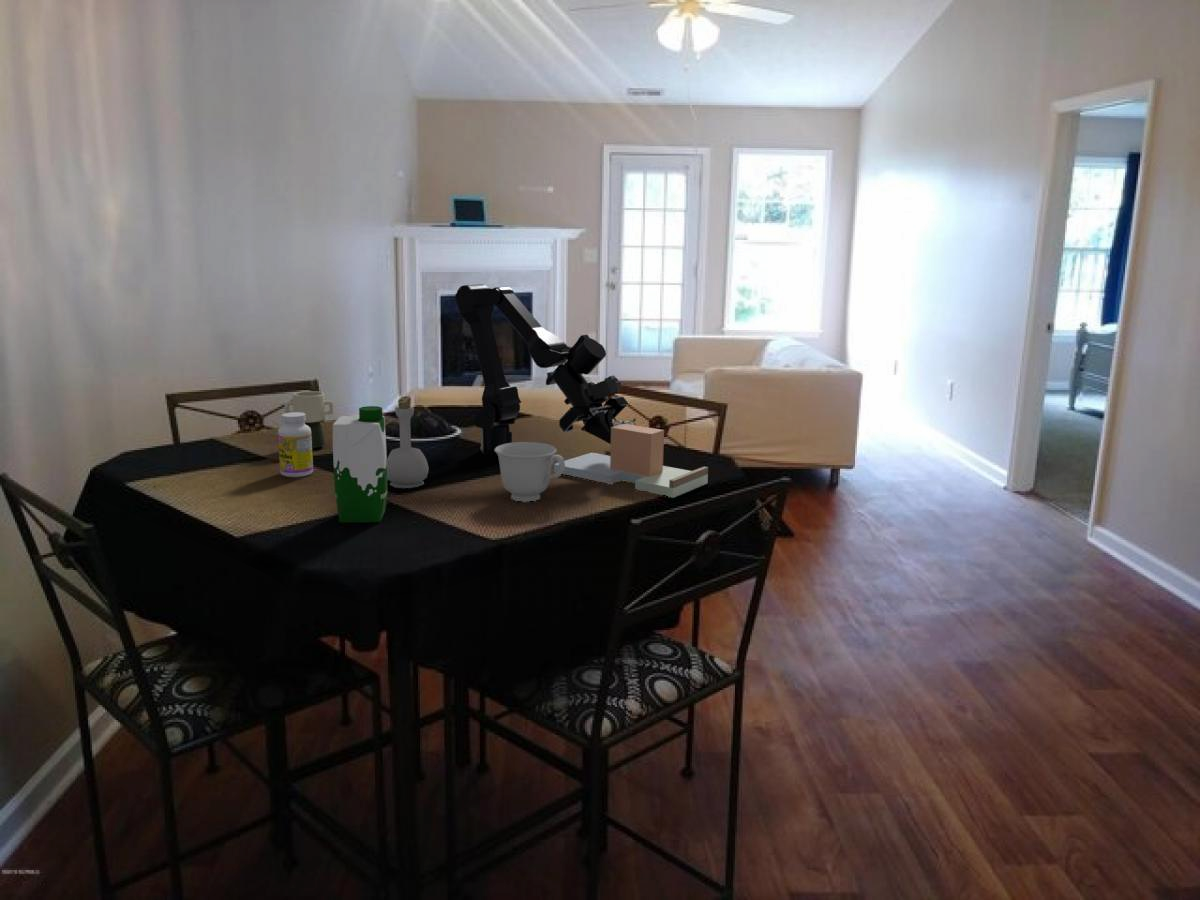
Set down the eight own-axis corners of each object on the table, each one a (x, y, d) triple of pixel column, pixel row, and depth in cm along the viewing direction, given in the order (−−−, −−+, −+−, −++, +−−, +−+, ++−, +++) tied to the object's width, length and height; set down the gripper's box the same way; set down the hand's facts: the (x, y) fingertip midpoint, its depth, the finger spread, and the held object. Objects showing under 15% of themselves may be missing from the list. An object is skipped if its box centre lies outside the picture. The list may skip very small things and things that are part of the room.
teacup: (545, 513, 172) (545, 461, 170) (482, 500, 180) (481, 450, 178) (580, 498, 182) (581, 449, 180) (519, 486, 190) (519, 439, 188)
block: (610, 468, 198) (611, 427, 196) (623, 464, 202) (624, 423, 200) (649, 476, 192) (651, 434, 190) (662, 471, 196) (664, 430, 194)
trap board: (553, 473, 201) (553, 457, 200) (591, 461, 212) (591, 446, 211) (673, 497, 184) (673, 480, 183) (707, 483, 195) (708, 467, 195)
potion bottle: (436, 480, 193) (434, 395, 189) (414, 491, 185) (411, 402, 181) (399, 476, 196) (396, 392, 192) (376, 487, 188) (372, 399, 184)
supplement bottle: (274, 473, 196) (270, 413, 193) (303, 468, 201) (299, 409, 198) (290, 479, 192) (287, 418, 189) (319, 474, 196) (316, 414, 193)
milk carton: (384, 524, 165) (380, 413, 160) (332, 524, 164) (326, 412, 159) (391, 509, 173) (387, 403, 168) (341, 509, 172) (336, 403, 168)
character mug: (335, 443, 224) (333, 390, 221) (334, 450, 217) (332, 395, 214) (288, 445, 221) (285, 391, 218) (285, 452, 215) (282, 396, 212)
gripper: (570, 369, 190) (614, 428, 187) (621, 359, 205) (662, 415, 202) (540, 402, 197) (582, 461, 193) (592, 391, 211) (631, 445, 208)
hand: (616, 444), depth 199 cm, fingers closed, pressing on block
